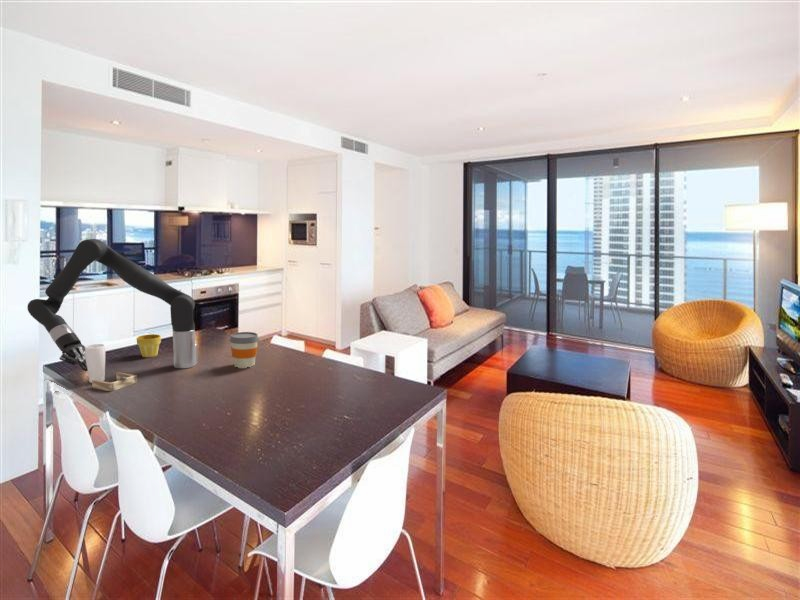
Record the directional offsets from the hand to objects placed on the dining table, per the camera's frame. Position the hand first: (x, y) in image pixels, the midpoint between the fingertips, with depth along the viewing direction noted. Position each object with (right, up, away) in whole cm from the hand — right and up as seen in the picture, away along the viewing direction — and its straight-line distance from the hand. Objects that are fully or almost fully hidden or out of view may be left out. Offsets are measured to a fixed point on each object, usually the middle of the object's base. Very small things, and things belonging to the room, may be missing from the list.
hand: (88, 369), depth 178 cm
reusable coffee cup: (+55, -3, +28) cm, 61 cm away
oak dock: (+14, -6, -4) cm, 15 cm away
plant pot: (+4, +1, +37) cm, 37 cm away
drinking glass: (+4, -5, -1) cm, 7 cm away
